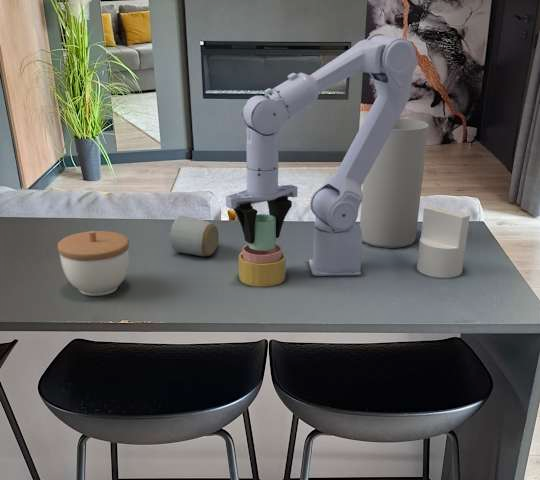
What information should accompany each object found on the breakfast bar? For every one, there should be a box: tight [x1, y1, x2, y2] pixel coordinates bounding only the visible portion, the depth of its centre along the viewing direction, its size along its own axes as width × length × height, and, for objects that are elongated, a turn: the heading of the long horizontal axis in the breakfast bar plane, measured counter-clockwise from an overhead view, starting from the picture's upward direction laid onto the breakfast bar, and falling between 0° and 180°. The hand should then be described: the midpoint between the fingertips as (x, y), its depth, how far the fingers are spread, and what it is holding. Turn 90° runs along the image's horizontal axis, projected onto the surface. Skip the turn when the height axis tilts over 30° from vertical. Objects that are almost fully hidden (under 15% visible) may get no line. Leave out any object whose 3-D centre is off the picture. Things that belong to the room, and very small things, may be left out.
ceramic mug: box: [169, 215, 219, 257], centre depth 149 cm, size 11×8×8 cm
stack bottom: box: [238, 251, 287, 288], centre depth 137 cm, size 9×9×4 cm
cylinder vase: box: [359, 117, 429, 249], centre depth 152 cm, size 12×12×25 cm
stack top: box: [242, 243, 283, 264], centre depth 137 cm, size 8×8×6 cm
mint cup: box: [248, 213, 277, 251], centre depth 134 cm, size 5×5×6 cm
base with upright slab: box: [416, 204, 471, 279], centre depth 140 cm, size 9×9×12 cm
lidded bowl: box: [57, 230, 130, 297], centre depth 131 cm, size 13×13×11 cm
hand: (262, 239), depth 135 cm, fingers closed on mint cup, 5 cm apart
